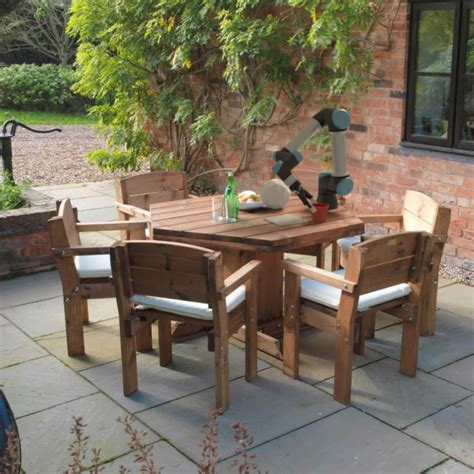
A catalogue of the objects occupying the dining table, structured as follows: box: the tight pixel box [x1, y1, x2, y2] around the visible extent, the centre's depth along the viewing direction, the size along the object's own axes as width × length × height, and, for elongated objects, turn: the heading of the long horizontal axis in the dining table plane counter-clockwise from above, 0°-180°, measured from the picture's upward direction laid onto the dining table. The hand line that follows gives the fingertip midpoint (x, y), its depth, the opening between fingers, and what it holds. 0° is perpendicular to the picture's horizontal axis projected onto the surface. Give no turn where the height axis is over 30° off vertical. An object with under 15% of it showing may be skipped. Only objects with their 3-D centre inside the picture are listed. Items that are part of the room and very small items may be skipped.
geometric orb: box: [259, 178, 292, 210], centre depth 466 cm, size 19×20×20 cm
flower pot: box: [310, 203, 329, 223], centre depth 435 cm, size 11×11×10 cm
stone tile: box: [262, 214, 309, 227], centre depth 435 cm, size 20×18×1 cm
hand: (316, 209), depth 434 cm, fingers open, 13 cm apart
